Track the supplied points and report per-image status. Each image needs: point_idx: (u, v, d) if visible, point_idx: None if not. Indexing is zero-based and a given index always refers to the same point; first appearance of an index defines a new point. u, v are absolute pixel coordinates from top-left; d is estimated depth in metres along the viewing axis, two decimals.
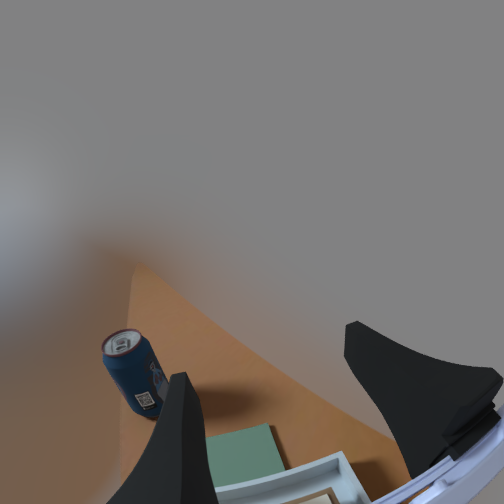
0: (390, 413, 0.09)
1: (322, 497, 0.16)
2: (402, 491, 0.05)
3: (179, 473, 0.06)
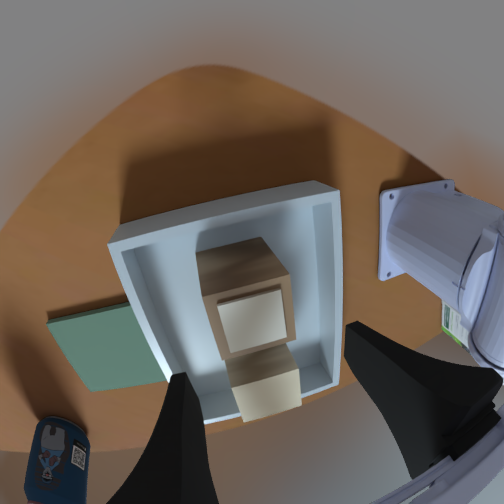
0: (390, 413, 0.09)
1: (223, 313, 0.14)
2: (402, 491, 0.05)
3: (179, 473, 0.06)
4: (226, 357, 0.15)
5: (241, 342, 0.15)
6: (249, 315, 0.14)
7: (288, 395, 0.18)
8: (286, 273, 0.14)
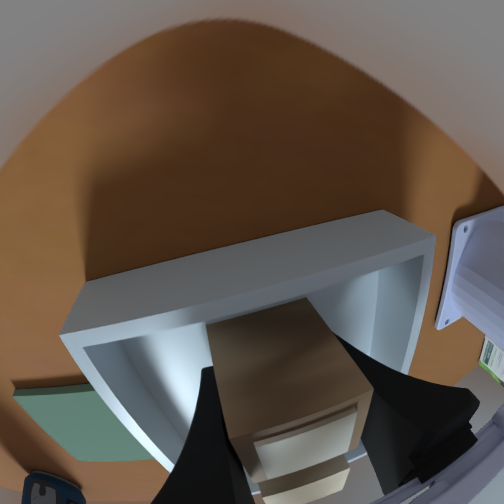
0: None
1: (263, 451, 0.07)
2: (402, 491, 0.05)
3: (226, 465, 0.06)
4: (260, 480, 0.09)
5: (285, 469, 0.08)
6: (303, 446, 0.07)
7: (330, 488, 0.11)
8: (368, 387, 0.07)
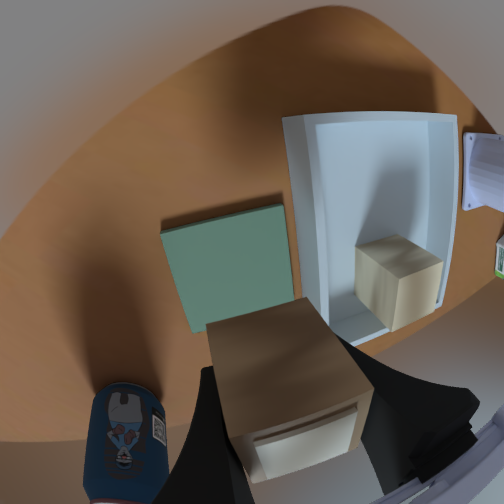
0: None
1: (263, 451, 0.07)
2: (402, 491, 0.05)
3: (226, 465, 0.06)
4: (260, 480, 0.08)
5: (285, 469, 0.08)
6: (303, 446, 0.07)
7: (430, 296, 0.18)
8: (368, 386, 0.07)
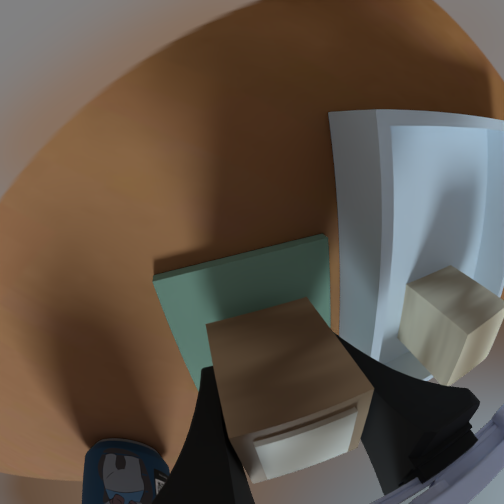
0: None
1: (263, 451, 0.07)
2: (402, 491, 0.05)
3: (226, 465, 0.06)
4: (260, 480, 0.08)
5: (285, 469, 0.08)
6: (303, 446, 0.07)
7: (488, 343, 0.12)
8: (368, 386, 0.07)
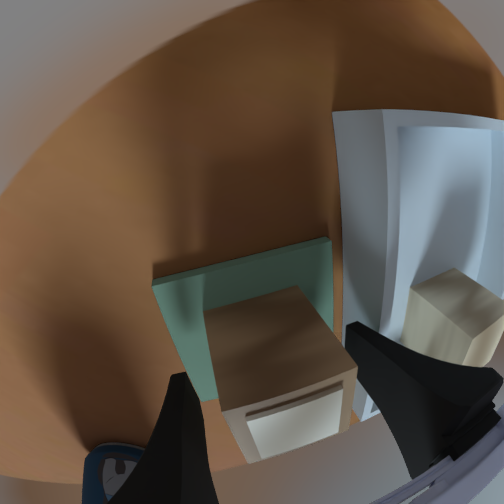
0: (390, 413, 0.09)
1: (254, 426, 0.08)
2: (402, 491, 0.05)
3: (179, 473, 0.06)
4: (255, 460, 0.09)
5: (277, 448, 0.09)
6: (293, 423, 0.08)
7: (492, 347, 0.12)
8: (352, 364, 0.08)
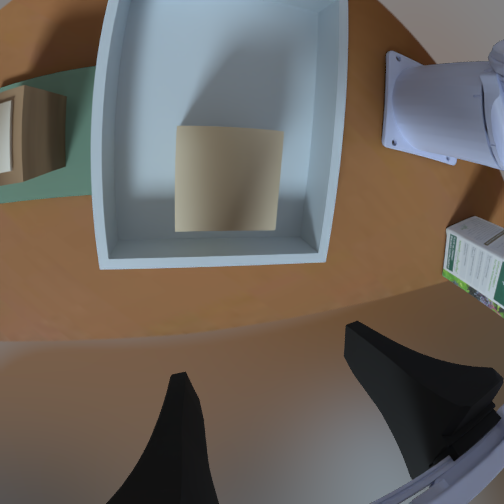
0: (390, 413, 0.09)
1: None
2: (402, 491, 0.05)
3: (179, 473, 0.06)
4: None
5: None
6: None
7: (259, 191, 0.12)
8: (23, 85, 0.08)
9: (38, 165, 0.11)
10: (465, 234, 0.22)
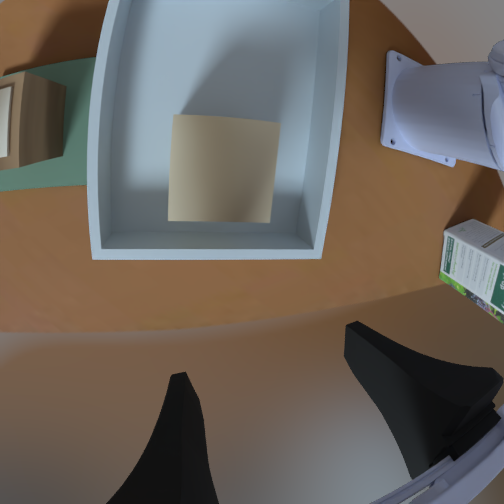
0: (390, 413, 0.09)
1: None
2: (402, 491, 0.05)
3: (179, 473, 0.06)
4: None
5: None
6: None
7: (254, 182, 0.12)
8: (24, 72, 0.07)
9: (35, 152, 0.10)
10: (463, 236, 0.22)
